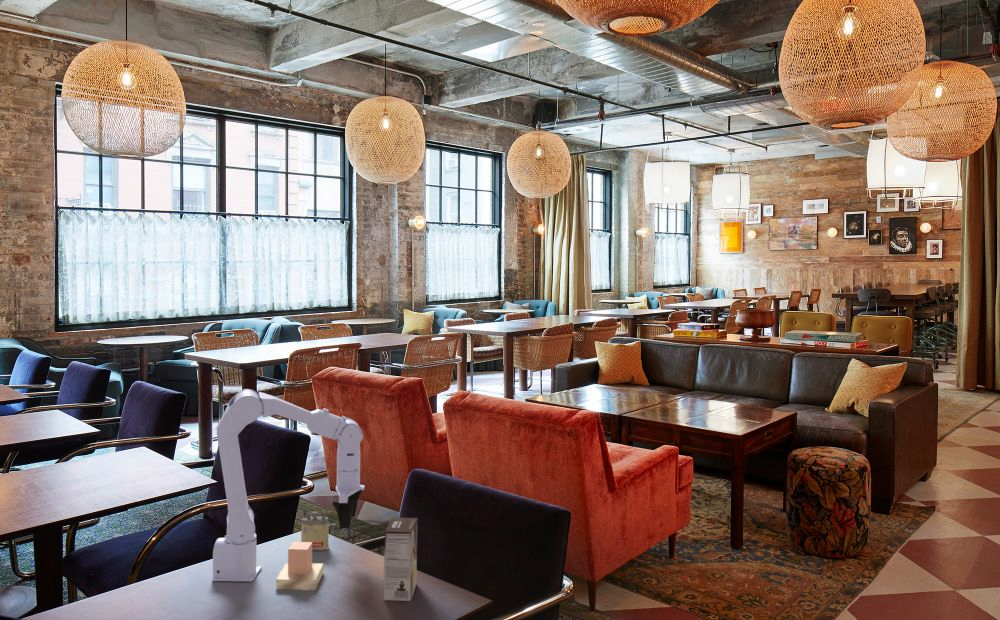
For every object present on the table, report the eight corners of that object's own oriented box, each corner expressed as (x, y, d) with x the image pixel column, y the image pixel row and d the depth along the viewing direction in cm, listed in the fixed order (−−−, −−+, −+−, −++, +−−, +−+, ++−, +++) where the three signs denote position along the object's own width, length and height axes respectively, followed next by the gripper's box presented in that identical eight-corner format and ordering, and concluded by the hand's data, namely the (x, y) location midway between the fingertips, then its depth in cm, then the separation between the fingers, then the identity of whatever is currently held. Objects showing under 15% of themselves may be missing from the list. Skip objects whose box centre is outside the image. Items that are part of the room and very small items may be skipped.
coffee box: (390, 582, 174) (391, 516, 173) (417, 583, 174) (418, 517, 173) (383, 600, 165) (384, 530, 164) (411, 601, 165) (412, 531, 164)
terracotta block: (288, 574, 171) (288, 549, 171) (293, 566, 176) (293, 541, 176) (307, 574, 172) (307, 549, 171) (312, 566, 176) (312, 542, 176)
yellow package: (299, 551, 191) (300, 513, 190) (302, 545, 195) (302, 508, 194) (327, 550, 192) (328, 513, 191) (329, 545, 196) (329, 508, 195)
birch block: (275, 592, 169) (276, 579, 169) (285, 575, 178) (285, 563, 178) (315, 592, 169) (315, 579, 169) (323, 575, 178) (323, 563, 178)
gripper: (360, 477, 176) (359, 533, 177) (368, 461, 191) (368, 512, 192) (330, 477, 176) (329, 532, 177) (341, 460, 190) (340, 512, 191)
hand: (347, 522), depth 184 cm, fingers open, 7 cm apart
